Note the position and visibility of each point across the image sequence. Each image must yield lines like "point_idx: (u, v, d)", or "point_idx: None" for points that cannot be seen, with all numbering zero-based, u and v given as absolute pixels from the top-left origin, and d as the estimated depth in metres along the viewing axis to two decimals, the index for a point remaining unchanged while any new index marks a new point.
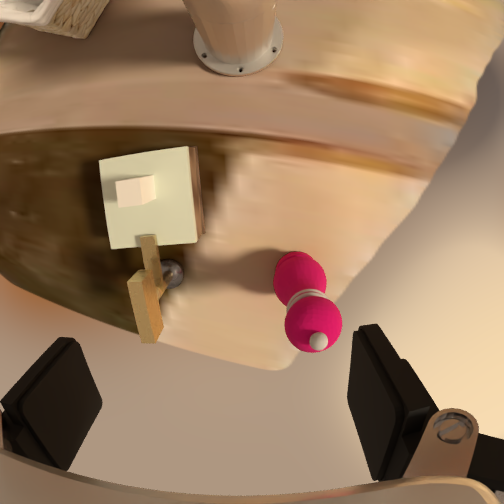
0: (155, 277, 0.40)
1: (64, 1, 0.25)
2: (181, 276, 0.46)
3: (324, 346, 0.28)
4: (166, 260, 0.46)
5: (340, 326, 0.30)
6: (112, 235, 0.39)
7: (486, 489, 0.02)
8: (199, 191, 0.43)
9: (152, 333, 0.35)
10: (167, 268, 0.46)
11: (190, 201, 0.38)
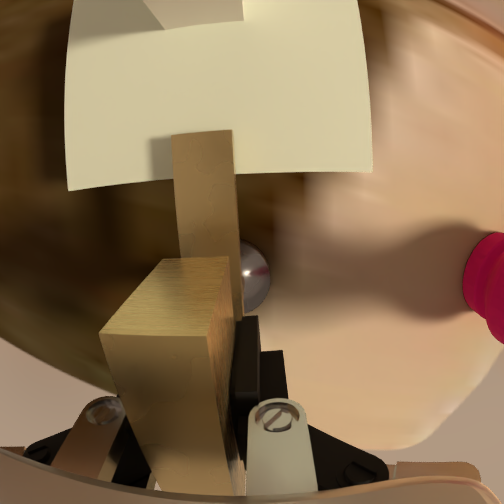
0: None
1: None
2: (266, 284, 0.18)
3: None
4: None
5: None
6: (75, 145, 0.11)
7: (486, 489, 0.02)
8: None
9: None
10: None
11: (360, 42, 0.10)
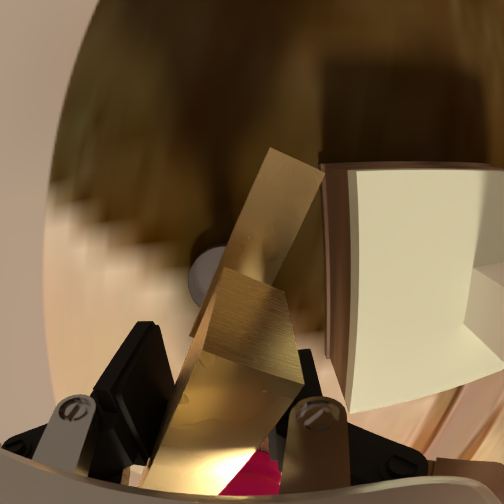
0: None
1: None
2: None
3: None
4: None
5: None
6: (400, 184, 0.11)
7: (486, 489, 0.02)
8: None
9: None
10: None
11: (434, 391, 0.14)
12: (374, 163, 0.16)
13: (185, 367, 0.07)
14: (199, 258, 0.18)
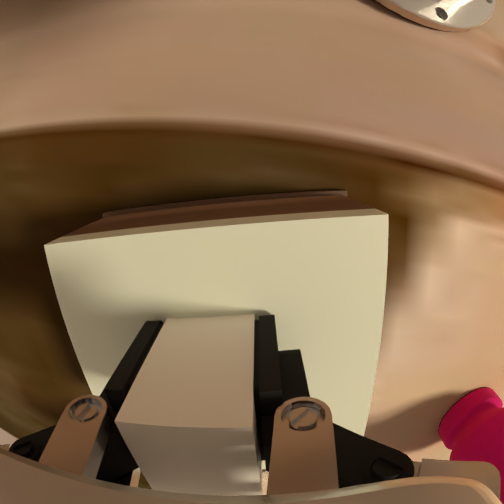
0: None
1: None
2: None
3: None
4: None
5: None
6: None
7: (486, 489, 0.02)
8: None
9: None
10: None
11: (371, 384, 0.11)
12: None
13: None
14: None
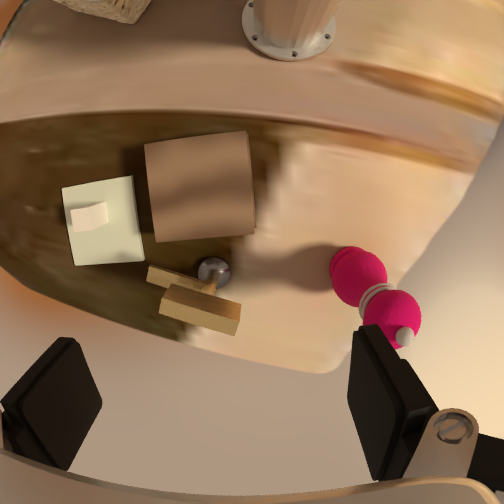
0: (191, 285, 0.37)
1: None
2: (228, 275, 0.43)
3: (411, 341, 0.25)
4: (212, 258, 0.43)
5: (420, 320, 0.27)
6: (75, 253, 0.43)
7: (486, 489, 0.02)
8: (251, 181, 0.40)
9: (225, 318, 0.31)
10: (213, 266, 0.43)
11: (136, 224, 0.42)
12: None
13: None
14: None
